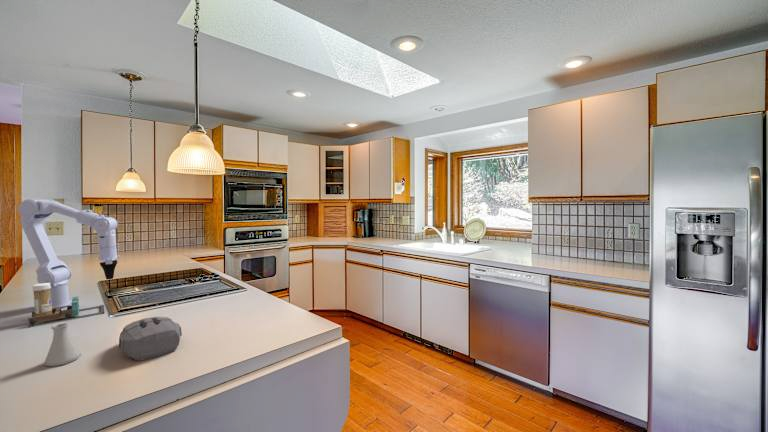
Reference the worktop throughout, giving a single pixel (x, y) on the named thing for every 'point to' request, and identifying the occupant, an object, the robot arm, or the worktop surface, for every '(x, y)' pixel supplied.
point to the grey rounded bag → (150, 338)
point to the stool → (57, 313)
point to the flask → (61, 347)
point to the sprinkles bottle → (42, 299)
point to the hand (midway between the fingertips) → (109, 278)
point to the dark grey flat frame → (73, 317)
